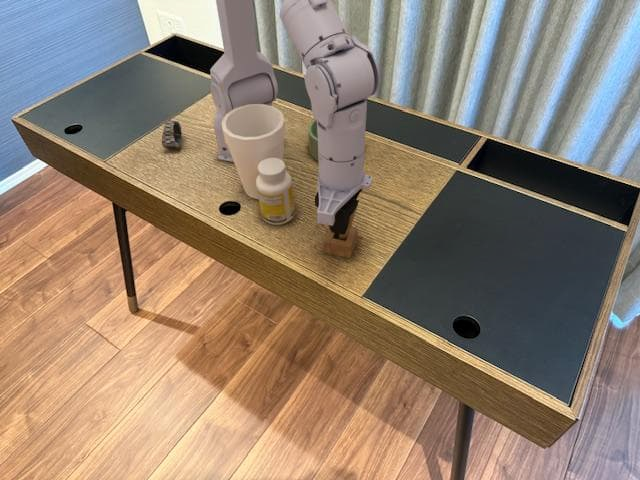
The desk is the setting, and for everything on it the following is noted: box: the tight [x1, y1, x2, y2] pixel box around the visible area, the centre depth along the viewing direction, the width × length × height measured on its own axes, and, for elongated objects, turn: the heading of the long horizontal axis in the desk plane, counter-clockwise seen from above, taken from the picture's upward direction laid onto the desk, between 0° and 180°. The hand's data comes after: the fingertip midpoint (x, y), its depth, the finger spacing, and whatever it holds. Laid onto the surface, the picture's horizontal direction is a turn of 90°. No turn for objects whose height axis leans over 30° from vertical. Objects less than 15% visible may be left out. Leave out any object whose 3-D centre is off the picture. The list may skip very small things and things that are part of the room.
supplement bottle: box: [256, 158, 296, 226], centre depth 74 cm, size 5×5×10 cm
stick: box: [338, 199, 359, 241], centre depth 68 cm, size 1×1×10 cm
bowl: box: [307, 118, 319, 162], centre depth 87 cm, size 9×9×4 cm
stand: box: [323, 226, 359, 259], centre depth 72 cm, size 4×4×2 cm
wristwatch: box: [161, 120, 183, 150], centre depth 90 cm, size 3×5×5 cm
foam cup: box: [221, 104, 287, 200], centre depth 77 cm, size 10×9×13 cm
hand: (341, 225), depth 69 cm, fingers closed
